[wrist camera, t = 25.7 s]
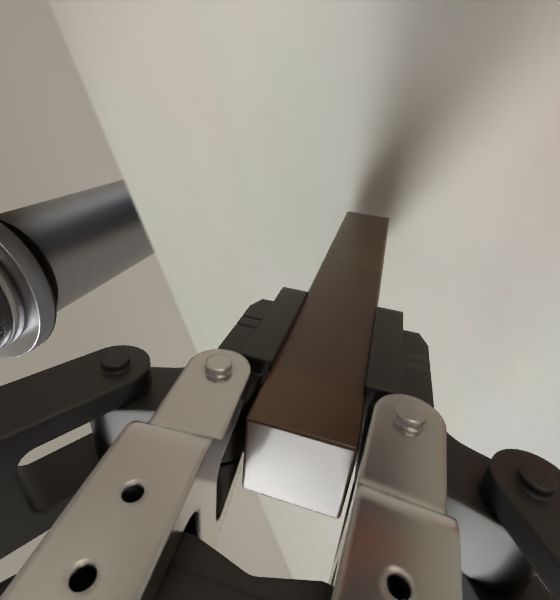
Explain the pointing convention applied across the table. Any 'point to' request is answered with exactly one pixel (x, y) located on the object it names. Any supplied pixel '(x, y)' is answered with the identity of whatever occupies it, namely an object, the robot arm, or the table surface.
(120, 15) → the table surface
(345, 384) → the stick
